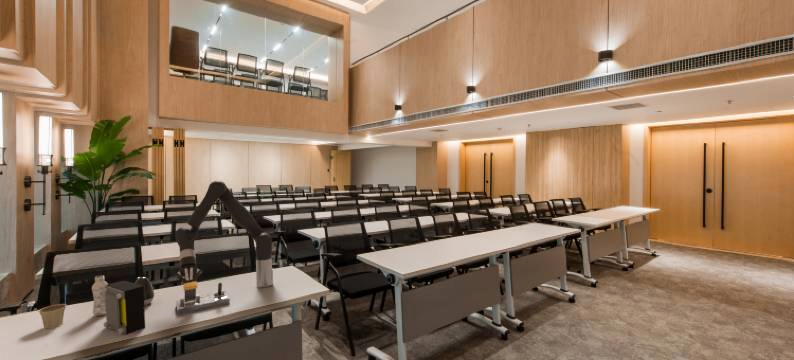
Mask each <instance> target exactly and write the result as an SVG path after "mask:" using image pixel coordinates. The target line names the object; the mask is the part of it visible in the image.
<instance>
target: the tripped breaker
mask: <svg viewBox="0 0 794 360" xmlns="http://www.w3.org/2000/svg"><path fill="white" fill-rule="evenodd" d="M182 287H183V291H184V299H185V302H190V301H195V300H196V295H197V289H198V281H197V280H194V281H193V282H190V283H186V282H183V286H182Z"/></svg>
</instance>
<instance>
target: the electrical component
mask: <svg viewBox="0 0 794 360" xmlns="http://www.w3.org/2000/svg"><path fill="white" fill-rule="evenodd" d="M102 292H103V293H106V295H105V298H106V314H105V316H106V322H103V327H104V328H109V329H111V330H114V331H115V332H117V333H118V334H119V335H125V336H128V335H130V334H132V333H135V332H138V331H140V330H143V329H146V319H145V318H146V316H145V315H146V314H145V312H146V311H145V306H144V286H142V285H138V284H135V282H130V281H128V280H121V281H116V282H113V283H108V285H106V286H105V289H103V290H102Z"/></svg>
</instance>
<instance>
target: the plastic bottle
mask: <svg viewBox="0 0 794 360" xmlns="http://www.w3.org/2000/svg"><path fill="white" fill-rule="evenodd" d="M108 284H109V283H108V282H107V281H105V275H96V276H95V277H94V283H93V284H92V286H91V291H92V295H93V308H92V314H93V315H94V317H100V316H104V315H105V316H106V298H105V295H106V293H103V292H102V290H103V289H105V286H106V285H108Z"/></svg>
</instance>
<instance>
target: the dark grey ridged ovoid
mask: <svg viewBox="0 0 794 360" xmlns="http://www.w3.org/2000/svg"><path fill="white" fill-rule="evenodd" d="M134 283H135V284H138V285H142V286H144V307H145V306H147V305H149V304H151V302H152V301H154V297H155V290H154V287H153V285H152V282H151V281H150V280H149V278H148V277H146V276H141V277H140V276H137V277H136V281H135V282H134Z"/></svg>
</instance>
